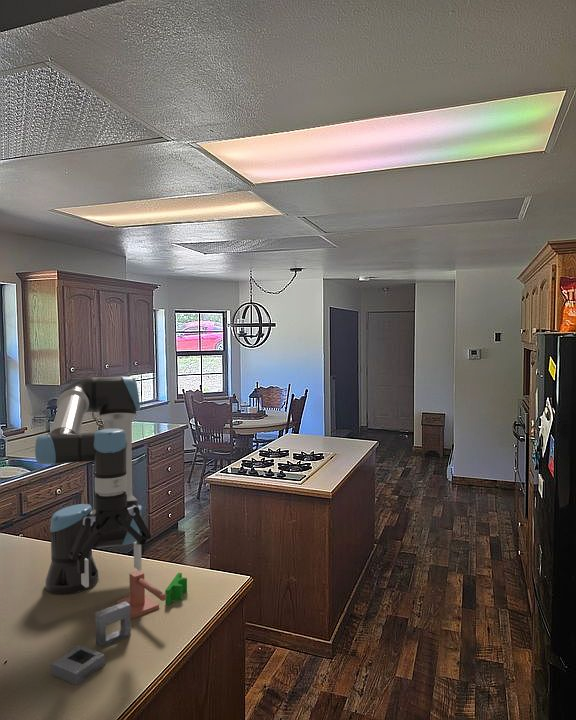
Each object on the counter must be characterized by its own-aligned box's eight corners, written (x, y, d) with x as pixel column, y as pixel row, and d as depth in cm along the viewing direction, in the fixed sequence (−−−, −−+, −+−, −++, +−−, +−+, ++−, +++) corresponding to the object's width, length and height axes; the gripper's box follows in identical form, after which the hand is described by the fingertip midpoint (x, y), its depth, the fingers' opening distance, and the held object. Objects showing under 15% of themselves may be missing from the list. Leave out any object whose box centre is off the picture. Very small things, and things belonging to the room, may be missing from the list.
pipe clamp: (178, 606, 147) (178, 590, 146) (165, 606, 147) (165, 590, 147) (190, 587, 158) (190, 572, 157) (178, 587, 158) (178, 572, 158)
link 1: (51, 674, 116) (51, 663, 116) (80, 655, 123) (80, 645, 123) (76, 685, 113) (76, 674, 113) (104, 664, 120) (104, 654, 120)
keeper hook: (116, 604, 147) (115, 571, 147) (142, 595, 153) (141, 563, 152) (151, 634, 132) (150, 597, 132) (178, 622, 138) (178, 587, 137)
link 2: (95, 644, 128) (95, 612, 128) (126, 631, 134) (125, 601, 133) (99, 648, 126) (99, 616, 126) (130, 635, 132) (130, 604, 132)
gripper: (65, 506, 117) (66, 598, 118) (163, 485, 134) (164, 566, 135) (53, 499, 123) (55, 587, 123) (149, 480, 140) (150, 558, 140)
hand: (112, 576), depth 129 cm, fingers open, 13 cm apart
